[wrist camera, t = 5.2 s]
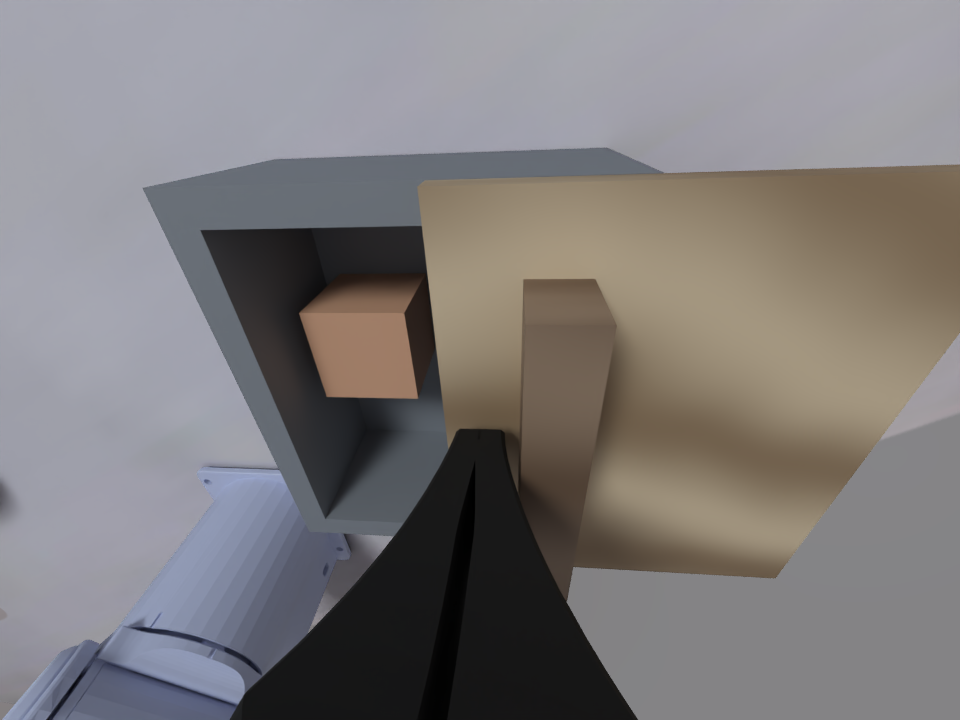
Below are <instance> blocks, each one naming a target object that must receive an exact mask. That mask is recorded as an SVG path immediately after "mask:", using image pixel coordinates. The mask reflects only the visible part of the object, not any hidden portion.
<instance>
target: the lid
mask: <svg viewBox="0 0 960 720" xmlns="http://www.w3.org/2000/svg"><path fill="white" fill-rule="evenodd" d="M417 189H418V197H419V206H420V214H421V223H422V231H423V240H424V248H425V257H426V265H427V274H428V282H429V290H430V299H431V307H432V316H433V324H434V333H435V341H436V350H437V358H438V367H439V375H440V383H441V392H442V400H443V409H444V417H445V426H446V434H447V443H448V449H449V447H450V445H451V443H452V441H453V438H454V436H455V434H456V431H458V430H459V429H497V430H502V431H503V432H504V433H505V444H506V451H507V456H508V461H509V465H510V469H511V473H512V476H513V480H514V483H515V486H516V489H517V492H518V495H519V498H520V501H521V504H522V506H523V509H524V512H525V514H526V517H527V520H528V522H529V525H530V527H531V530H532V532H533V534H534V537H535V539H536V541H537V544H538V546H539V548H540V550H541V552H542V555H543V557H544V559H545V561H546V563H547V565H548V567H549V569H550V571H551V573H552V575H553V577H554V579H555V581H556V583H557V585H558V587H559V589H560V591H561V593H562V595H563V597H564V598H565V600H566V601H567V598H568V592H569V587H570V581H571V576H572V570H573V567H585V568H601V569H602V568H603V569H619V570H638V571H655V572H672V573H673V572H674V573H690V574H709V575H725V576H743V577H761V578H776V577H777V575H778V574H779V573H780V571H781V570H782V569H783V567H784V566H785V565H786V563H787V562H788V561H789V559H790V558H791V557H792V555H793V554H794V553H795V551H796V550H797V549H798V547H799V546H800V545H801V543H802V542H803V541H804V539H805V538H806V537H807V535H808V534H809V533H810V531H811V530H812V529H813V527H814V526H815V525H816V523H817V522H818V521H819V519H820V518H821V516H822V515H823V514H824V513H825V511H826V510H827V509H828V507H829V506H830V505H831V504H832V502H833V501H834V500H835V498H836V497H837V495H838V494H839V493H840V492H841V490H842V489H843V487H844V486H845V485H846V484H847V482H848V481H849V479H850V478H851V477H852V476H853V474H854V473H855V471H856V470H857V469H858V467H859V466H860V465H861V463H862V462H863V461H864V460H865V458H866V457H867V456H868V454H869V453H870V452H871V450H872V449H873V447H874V446H875V445H876V444H877V442H878V441H879V440H880V438H881V437H882V436H883V434H884V433H885V432H886V430H887V429H888V428H889V426H890V425H891V424H892V422H893V421H894V420H895V418H896V417H897V416H898V414H899V413H900V412H901V410H902V409H903V408H904V406H905V405H906V404H907V402H908V401H909V400H910V398H911V397H912V396H913V394H914V393H915V392H916V390H917V389H918V388H919V386H920V385H921V384H922V382H923V381H924V380H925V378H926V377H927V376H928V374H929V373H930V372H931V370H932V369H933V368H934V366H935V365H936V364H937V362H938V361H939V360H940V358H941V357H942V356H943V354H944V353H945V352H946V350H947V349H948V348H949V346H950V345H951V344H952V342H953V341H954V340H955V338H956V337H957V336H958V334H959V333H960V165H930V166H896V167H862V168H828V169H794V170H760V171H726V172H693V173H659V174H625V175H591V176H557V177H523V178H489V179H455V180H425V181H424V182H422V183H421V184H420V185H419V186H417Z"/></svg>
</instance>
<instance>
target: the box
mask: <svg viewBox="0 0 960 720" xmlns="http://www.w3.org/2000/svg"><path fill="white" fill-rule="evenodd" d="M659 173H664V172H661V171H659V170H657V169H655V168H652V167H650V166H648V165H645V164H643V163H641V162H639V161H636V160H634V159H632V158H629V157H627V156H625V155H622V154H620V153H618V152H616V151H613V150H611V149H609V148H587V149H559V150H531V151H502V152H474V153H446V154H418V155H389V156H361V157H333V158H305V159H276V160H270V161H266V162H261V163H256V164H252V165H247V166H243V167H238V168H233V169H229V170H224V171H219V172H215V173H210V174H205V175H201V176H196V177H192V178H187V179H182V180H178V181H173V182H168V183H164V184H159V185H154V186H150V187H145V188H143V190H144V192H145V194H146V196H147V198H148V200H149V202H150V204H151V206H152V208H153V211H154V213H155V215H156V217H157V219H158V221H159V223H160V225H161V227H162V229H163V231H164V233H165V235H166V237H167V239H168V241H169V244H170V246H171V248H172V250H173V252H174V254H175V256H176V258H177V260H178V262H179V264H180V266H181V268H182V270H183V272H184V274H185V276H186V279H187V281H188V283H189V285H190V287H191V289H192V291H193V293H194V295H195V297H196V299H197V301H198V303H199V305H200V307H201V309H202V312H203V314H204V316H205V318H206V320H207V322H208V324H209V326H210V328H211V330H212V332H213V334H214V336H215V338H216V340H217V342H218V345H219V347H220V349H221V351H222V353H223V355H224V357H225V359H226V361H227V363H228V365H229V367H230V369H231V371H232V373H233V375H234V377H235V380H236V382H237V384H238V386H239V388H240V390H241V392H242V394H243V396H244V398H245V400H246V402H247V404H248V406H249V408H250V410H251V413H252V415H253V417H254V419H255V421H256V423H257V425H258V427H259V429H260V431H261V433H262V435H263V437H264V439H265V441H266V443H267V446H268V448H269V450H270V452H271V454H272V456H273V458H274V460H275V462H276V464H277V466H278V468H279V470H280V472H281V474H282V476H283V479H284V481H285V483H286V485H287V487H288V489H289V491H290V493H291V495H292V497H293V499H294V501H295V503H296V505H297V507H298V509H299V511H300V514H301V516H302V518H303V520H304V522H305V524H306V526H307V528H308V530H309V532H325V533H344V534H364V535H383V536H395V534H396V533H397V532H398V530H399V529H400V528H401V526H402V525H403V523H404V522H405V521H406V519H407V518H408V516H409V515H410V513H411V512H412V510H413V509H414V507H415V506H416V504H417V503H418V501H419V500H420V498H421V497H422V495H423V494H424V492H425V490H426V489H427V487H428V485H429V484H430V482H431V480H432V479H433V477H434V475H435V474H436V472H437V470H438V468H439V467H440V465H441V463H442V461H443V459H444V457H445V455H446V453H447V451H448V443H447V434H446V426H445V417H444V409H443V400H442V392H441V383H440V375H439V367H438V358H437V350H436V341H435V333H434V324H433V316H432V307H431V299H430V290H429V282H428V274H427V265H426V257H425V248H424V240H423V231H422V223H421V214H420V206H419V197H418V189H417V186H419V185H420V184H421V183H422V182H424V181H425V180H455V179H489V178H523V177H557V176H591V175H625V174H659Z"/></svg>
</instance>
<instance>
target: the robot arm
mask: <svg viewBox="0 0 960 720" xmlns="http://www.w3.org/2000/svg"><path fill="white" fill-rule="evenodd" d="M197 476H198V478H199V479H200V481H201V482H202V484H203V485H204V487H205V488H206V490H207V491H208V493H209V494H210V495H211V497H212V498H213V500H214V502H213V503H212V505H211V506H210V507H209V509H208V510H207V511H206V513H205V514H204V515H203V516H202V518H201V519H200V520H199V522H198V523H197V524H196V526H195V527H194V528H193V530H192V531H191V532H190V533H189V535H188V536H187V537H186V539H185V540H184V541H183V543H182V544H181V545H180V547H179V548H178V549H177V550H176V552H175V553H174V554H173V556H172V557H171V558H170V560H169V561H168V562H167V564H166V565H165V566H164V567H163V569H162V570H161V571H160V573H159V574H158V575H157V577H156V578H155V579H154V581H153V582H152V583H151V584H150V586H149V587H148V588H147V590H146V591H145V592H144V594H143V595H142V596H141V598H140V599H139V600H138V601H137V603H136V604H135V605H134V607H133V608H132V609H131V611H130V612H129V613H128V614H127V616H126V617H125V618H124V620H123V621H122V622H121V624H120V625H119V626H118V628H117V629H116V630H115V631H114V632H113V633H112V634H111V635H110V636H109V637H108V638H107V639H105V640H104V641H103V642H102V643H101V644H100V645H99V643H97V642H94V641H92V640H85V641H83V642H82V643H80V644H79V645H78V646H73V647H71V648H68V649H66V650H63V651H61V652H60V653H59V654H58V655H57V656H56V657H55V659H54V660H53V661H52V662H51V663H50V664H49V665H48V666H47V668H46V669H45V670H44V671H43V672H42V673H41V674H40V676H39V677H38V678H37V679H36V680H35V681H34V683H33V684H32V685H31V686H30V687H29V688H28V690H27V691H26V692H25V693H24V694H23V695H22V697H21V698H20V699H19V700H18V701H17V703H16V704H15V705H14V706H13V707H12V709H11V710H10V711H9V712H8V713H7V714H6V715H5V717H4V718H3V719H2V720H638V719H637V718H636V716H635V715H634V713H633V712H632V710H631V708H630V707H629V705H628V704H627V702H626V701H625V699H624V698H623V696H622V695H621V693H620V692H619V690H618V688H617V687H616V685H615V684H614V682H613V681H612V679H611V678H610V676H609V674H608V673H607V671H606V670H605V668H604V666H603V665H602V663H601V661H600V660H599V658H598V656H597V655H596V653H595V651H594V650H593V648H592V646H591V645H590V643H589V641H588V640H587V638H586V636H585V635H584V633H583V631H582V629H581V628H580V625H579V624H578V622H577V620H576V618H575V616H574V615H573V613H572V611H571V609H570V607H569V606H568V604H567V602H566V600H565V598H564V597H563V595H562V593H561V591H560V589H559V587H558V585H557V583H556V581H555V579H554V577H553V575H552V573H551V571H550V569H549V567H548V565H547V563H546V561H545V559H544V557H543V555H542V552H541V550H540V548H539V546H538V544H537V541H536V539H535V537H534V534H533V532H532V530H531V527H530V525H529V522H528V520H527V517H526V514H525V512H524V509H523V506H522V504H521V501H520V498H519V495H518V492H517V489H516V486H515V483H514V480H513V476H512V473H511V469H510V465H509V461H508V456H507V451H506V444H505V433H504V432H503V431H502V430H497V429H459V430H458V431H456V434H455V436H454V438H453V441H452V443H451V445H450V447H449V449H448V451H447V453H446V455H445V457H444V459H443V461H442V463H441V465H440V467H439V468H438V470H437V472H436V474H435V475H434V477H433V479H432V480H431V482H430V484H429V485H428V487H427V489H426V490H425V492H424V494H423V495H422V497H421V498H420V500H419V501H418V503H417V504H416V506H415V507H414V509H413V510H412V512H411V513H410V515H409V516H408V518H407V519H406V521H405V522H404V523H403V525H402V526H401V528H400V529H399V530H398V532H397V533H396V534H395V536H394V537H393V538H392V540H391V541H390V542H389V544H388V545H387V546H386V547H385V549H384V550H383V551H382V553H381V554H380V555H379V556H378V557H377V559H376V560H375V561H374V562H373V563H372V565H371V566H370V567H369V568H368V569H367V571H366V572H365V573H364V574H363V575H362V576H361V578H360V579H359V580H358V581H357V582H356V583H355V584H354V586H353V587H352V588H351V589H350V590H349V591H348V592H347V593H346V595H345V596H344V597H343V598H342V599H341V600H340V601H339V602H338V603H337V604H336V605H335V606H334V607H333V608H332V609H331V610H330V611H329V612H328V613H327V614H326V615H325V616H324V618H323V619H322V620H321V621H320V622H319V623H318V624H317V625H316V626H315V627H314V628H313V629H312V630H311V631H310V632H309V633H308V631H309V629H310V626H311V624H312V621H313V619H314V616H315V614H316V611H317V609H318V606H319V604H320V601H321V598H322V596H323V593H324V591H325V588H326V586H327V583H328V581H329V578H330V576H331V573H332V571H333V568H334V566H335V563H336V560H348V559H349V558H350V556H351V551H350V549H349V546H348V544H347V541H346V539H345V536H344V534H343V533H325V532H309V530H308V528H307V526H306V524H305V522H304V520H303V518H302V516H301V514H300V511H299V509H298V507H297V505H296V503H295V501H294V499H293V497H292V495H291V493H290V491H289V489H288V487H287V485H286V483H285V481H284V479H283V476H282V474H281V472H280V470H270V469H243V468H216V467H202V468H201V469H200V470H199V471H198V472H197Z"/></svg>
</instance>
